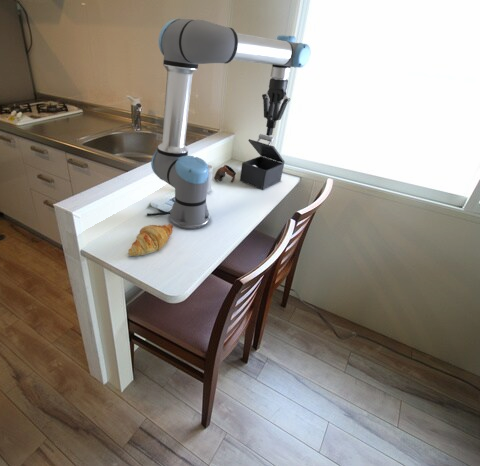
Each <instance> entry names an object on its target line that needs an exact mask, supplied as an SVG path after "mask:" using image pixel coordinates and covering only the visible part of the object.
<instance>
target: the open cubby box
mask: <svg viewBox="0 0 480 466" xmlns="http://www.w3.org/2000/svg"><path fill="white" fill-rule="evenodd" d="M252 165H256V167H255V166H252ZM284 167H285V162H284V163H282V162H278V161H275V160H272V159H269V158H266V157H263V156H260V155H259V156H257V157H254V158H252V159H249V160H246V161H243V162H242V164H241V170H240V176H239V182H242V183H245V184H246V185H250V186H252V187H254V188H257V189H259V190H266V189H268V188H270V187H272V186H274V185H276V184H278V183H280V182H281V180H282V175H283V172H284Z"/></svg>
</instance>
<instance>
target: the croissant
mask: <svg viewBox="0 0 480 466" xmlns="http://www.w3.org/2000/svg"><path fill="white" fill-rule="evenodd" d="M173 231H174V224H172V223H168V224H162V225H160V224H148V225H146V226H143V227H142V228H141V229H140V230H139V232H138V234H137V235H136V238H135V241H133V242H132V243H131V247H130V248H129V249H128V252H127V255H128V256H130V257H138V256H144V255H148V254H152V253H155V252H159V251H161V249H162V248H163V247H164V246H166V244H167V242H168V241H169V239H170V237H171V236H172V234H173Z"/></svg>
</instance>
